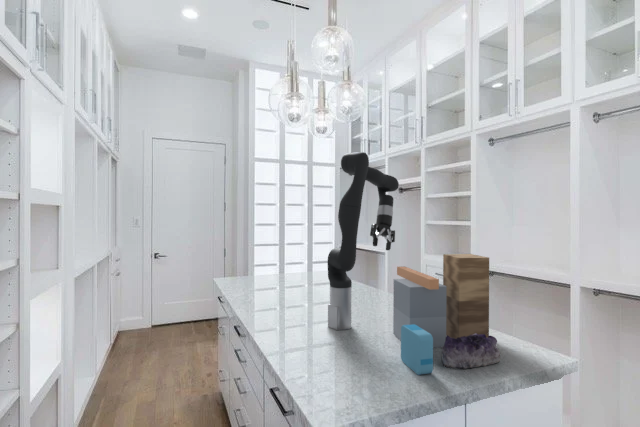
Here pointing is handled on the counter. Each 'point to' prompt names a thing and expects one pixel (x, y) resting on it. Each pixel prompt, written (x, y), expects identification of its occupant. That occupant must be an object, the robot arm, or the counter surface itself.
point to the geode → (470, 351)
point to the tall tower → (466, 294)
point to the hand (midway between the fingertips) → (381, 248)
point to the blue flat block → (417, 349)
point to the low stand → (420, 309)
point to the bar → (418, 278)
